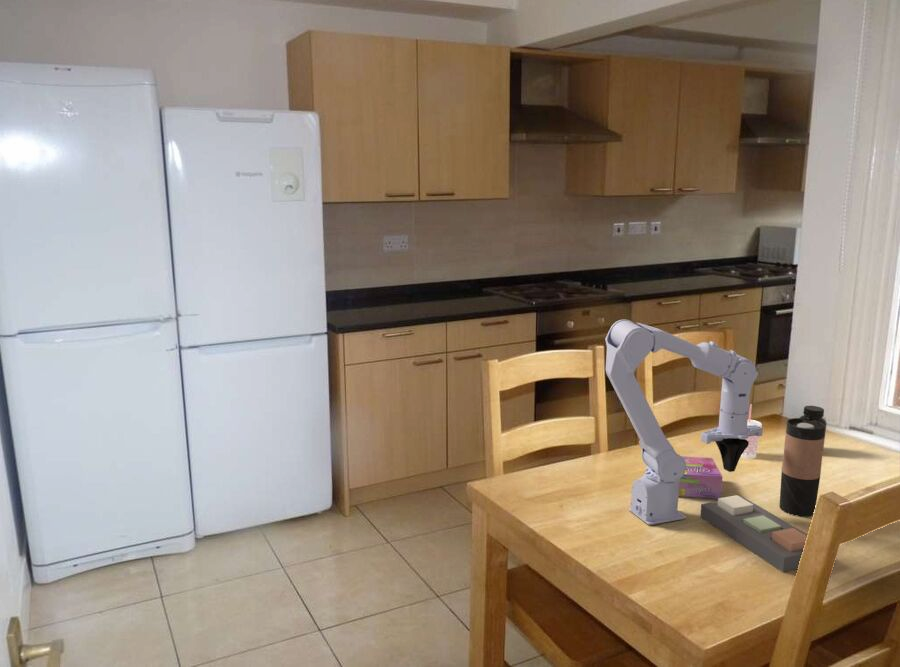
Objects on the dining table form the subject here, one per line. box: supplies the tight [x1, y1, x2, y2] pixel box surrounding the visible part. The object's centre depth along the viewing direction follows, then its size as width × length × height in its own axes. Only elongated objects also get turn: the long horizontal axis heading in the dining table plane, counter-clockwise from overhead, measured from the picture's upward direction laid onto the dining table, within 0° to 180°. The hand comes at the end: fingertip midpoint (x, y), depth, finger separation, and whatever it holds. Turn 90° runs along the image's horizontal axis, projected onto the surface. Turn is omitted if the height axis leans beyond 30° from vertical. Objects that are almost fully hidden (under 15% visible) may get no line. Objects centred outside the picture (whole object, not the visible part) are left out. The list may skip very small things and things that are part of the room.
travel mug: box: [779, 417, 826, 517], centre depth 160 cm, size 8×8×20 cm
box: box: [678, 455, 723, 500], centre depth 173 cm, size 10×6×12 cm
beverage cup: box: [740, 403, 763, 459], centre depth 192 cm, size 6×6×14 cm
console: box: [700, 496, 807, 573], centre depth 149 cm, size 11×24×3 cm, turn 19°
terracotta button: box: [772, 528, 807, 552], centre depth 141 cm, size 5×5×2 cm
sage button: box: [743, 516, 781, 533], centre depth 149 cm, size 5×5×2 cm
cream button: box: [717, 494, 753, 516], centre depth 156 cm, size 5×5×2 cm
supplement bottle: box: [799, 405, 828, 449], centre depth 196 cm, size 7×7×12 cm
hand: (729, 470), depth 160 cm, fingers closed
